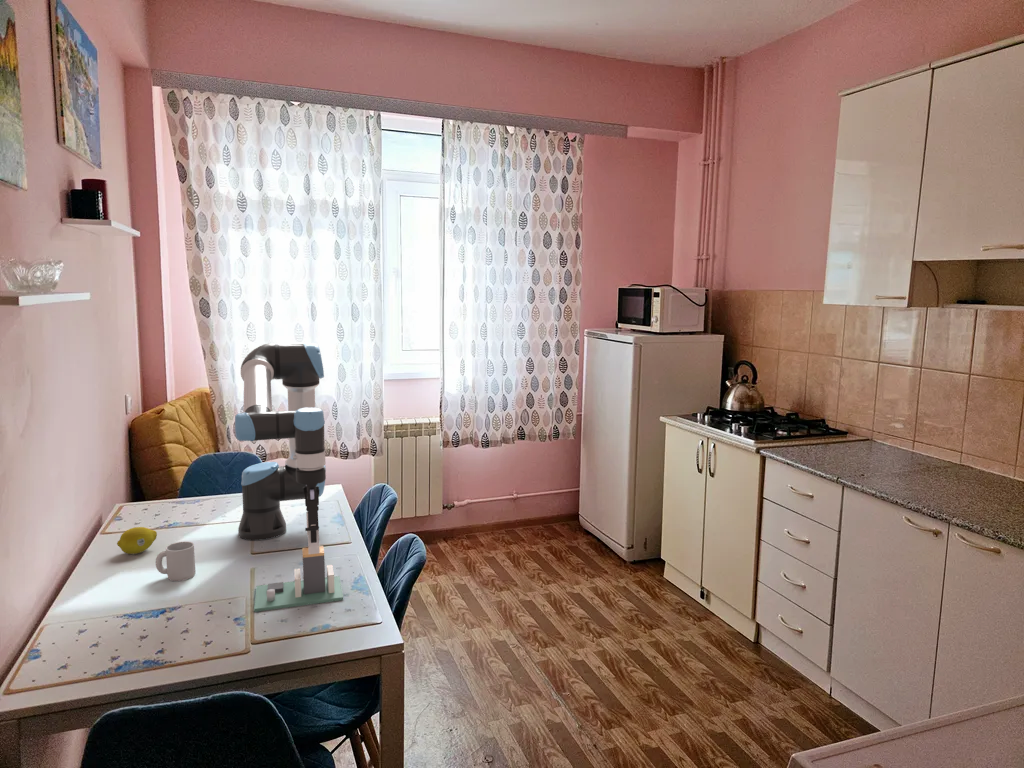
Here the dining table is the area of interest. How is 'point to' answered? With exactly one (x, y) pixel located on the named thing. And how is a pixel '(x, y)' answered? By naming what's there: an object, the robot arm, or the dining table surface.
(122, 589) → the dining table surface
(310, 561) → the plug
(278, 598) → the board
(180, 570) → the cup
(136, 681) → the dining table surface
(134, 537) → the lemon
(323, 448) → the robot arm
